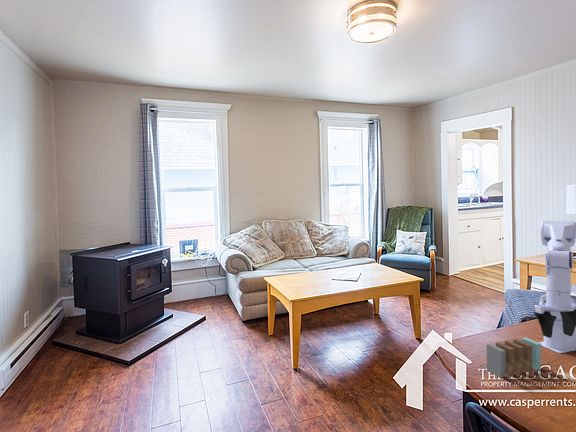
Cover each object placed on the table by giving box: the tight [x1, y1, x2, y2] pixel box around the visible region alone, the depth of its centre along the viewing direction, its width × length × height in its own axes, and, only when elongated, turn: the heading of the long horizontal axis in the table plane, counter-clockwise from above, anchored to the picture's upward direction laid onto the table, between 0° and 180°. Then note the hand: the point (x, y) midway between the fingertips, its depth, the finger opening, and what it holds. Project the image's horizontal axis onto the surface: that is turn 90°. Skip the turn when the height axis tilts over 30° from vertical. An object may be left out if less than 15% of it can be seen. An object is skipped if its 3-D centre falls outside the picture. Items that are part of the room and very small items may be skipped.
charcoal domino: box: [486, 343, 506, 379], centre depth 103 cm, size 2×5×8 cm, turn 16°
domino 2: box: [504, 340, 524, 375], centre depth 105 cm, size 2×5×8 cm, turn 15°
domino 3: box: [512, 338, 533, 373], centre depth 105 cm, size 2×5×8 cm, turn 15°
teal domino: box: [521, 336, 542, 371], centre depth 106 cm, size 2×5×8 cm, turn 16°
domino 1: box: [495, 341, 515, 377], centre depth 104 cm, size 2×5×8 cm, turn 15°
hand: (557, 335), depth 103 cm, fingers open, 7 cm apart
